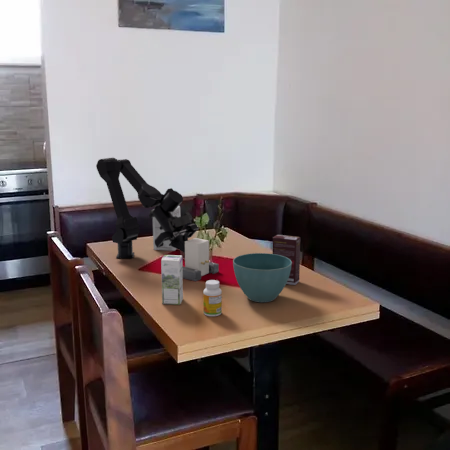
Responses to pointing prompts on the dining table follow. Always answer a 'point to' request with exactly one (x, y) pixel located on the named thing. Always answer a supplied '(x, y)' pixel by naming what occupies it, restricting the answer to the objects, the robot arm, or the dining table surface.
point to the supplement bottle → (212, 298)
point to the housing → (199, 272)
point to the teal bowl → (262, 275)
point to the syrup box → (172, 279)
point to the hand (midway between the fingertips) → (189, 254)
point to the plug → (197, 255)
